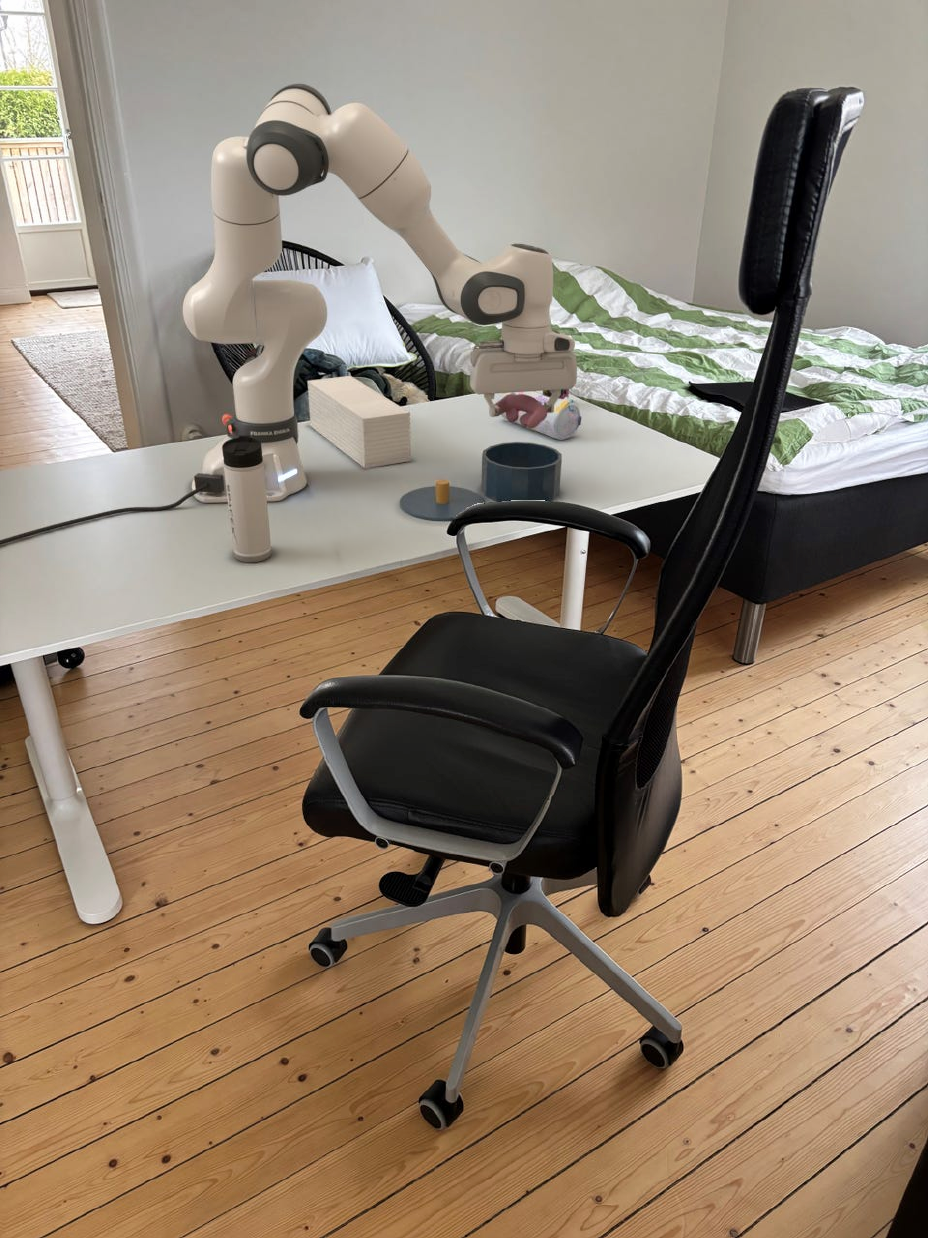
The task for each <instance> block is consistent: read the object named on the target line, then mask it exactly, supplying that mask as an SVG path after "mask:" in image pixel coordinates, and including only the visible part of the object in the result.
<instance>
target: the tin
mask: <svg viewBox="0 0 928 1238" xmlns="http://www.w3.org/2000/svg"><path fill="white" fill-rule="evenodd" d="M562 456H563V454H562V453H561V452H560V451H559V450H557V449H556V448H555V447H551V446H549V445H546V444H541V443H535V442H528V441H527V442H525V441H512V442H501V443H497V444H494V445H489V446H488V447H486V448H485V449H483V450H482V454H481V483H480V484H481V485H480V486H481V487H480V491H481V493H482V494H483V496H484V497H485V498H487V499H489V500H492V501H493V502H496V503H499V502H502V501H511V500H545V501H550V502H553V501H555V500H556V499H557V498H559V496H560V489H561V488H560V487H561V475H562V461H563V460H562V458H563V457H562Z"/></svg>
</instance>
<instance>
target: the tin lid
mask: <svg viewBox="0 0 928 1238" xmlns="http://www.w3.org/2000/svg"><path fill="white" fill-rule="evenodd" d="M483 502H485V503H486V501H485V499H484V497H483V496H482V495H480V494H479V493H477V492H475V491H473V490H471V489H467V488H464V487H459V486H452V485H451V486H450V480H448V479H445V478H440V479H437V480H435V485H434V486H433V485H432V486H425V487H420V488H416V489H413V490H410V491H408V492H406V493H404V494H403V495H402V496H401V498H400V500H399V507H400V509H401V510H402V511H403V512H404V513H406V514H407V515H409V516H411V517H414V518H417V519H421V520H426V521H432V522H433V521H434V522H454V521H455V520H454V518H455V517H456V515H458V514H459V513H460V512H462V511H463V510H465V509H466V508H467V507H470V506H472V505H474V504H477V503H483ZM453 520H454V521H453Z"/></svg>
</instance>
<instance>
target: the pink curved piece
mask: <svg viewBox="0 0 928 1238" xmlns="http://www.w3.org/2000/svg"><path fill="white" fill-rule="evenodd" d="M493 404H494V405H497V406H498V407H499V408H500V411H499V416H501V414H503V413H505V412H506V417H507V419H506V421H508V423H514V422H515V421H517V420H518V418H519V414H518V412H519V411H523V412H526V414H523V415H522V416H521V417H520V423H521V425H520V426H522V427H523V428H527V427H528V428H527V429H529V428H530V429H529V430H532V428H535V427H536V426H538V425H539V424H540V423H541V421H543V420H544V419H545V418H546V417H547V411H546V409H545V407H544V405H543V404H542V402H541V401H537V400H536V399H535V398H533V397H531V396H528V395H525V394H519V395H516V394H515V393H511V394H510V395H506V396H505V397H503V398H502V399H501V400H500V401H498V400H497V402H495V403H493Z"/></svg>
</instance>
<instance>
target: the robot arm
mask: <svg viewBox="0 0 928 1238" xmlns="http://www.w3.org/2000/svg"><path fill="white" fill-rule="evenodd" d="M210 166H211V168H210V196H211V197H210V198H211V206H212V208H211V209H212V216H213V225H214V226H213V227H214V246H215V247H214V256H213V260H212V262H211V265H210V267H209V268H208V271H207V272H206V273H205V274H204V276H203V277H202V278H200V280H198V282H196V283H194V284H193V285H192V286H191V287H190V288H189V289H188V291H187V292H186V293H185V296H184V298H183V303H182V317H183V321H184V323H185V326H186V328H187V329H188V331H189V332H190V333H191V335H192V336H193V337H194V338H195V339H197V340H198V341H200V342H201V341H202V342H206V343H212V344H220V345H242V344H243V345H247V344H248V345H249V344H259V345H262V346H263V350H262V352H261V353H260V354H259V355H258V356H257V357H256V358H254V359H252V360H250V361H248V362H245V364H242V366H240V367H239V368H238V369H237V370H236V371H235V372H234V375H233V377H232V391H233V400H234V401H233V402H234V411H235V414H234V415H233V416H232V415H231V414H230V413H225V414H223V416H222V417H221V418H222V419H221V420H222V424H223V425H224V426H225V430H226V436H225V437H224V438H223V439H221V441H219V442H218V443H216V445H215V446H214V447H212V448H211V449H210V450H208V451H207V452H206V453H205V455H204V457H203V461H202V464H201V465H202V466H201V473H200V472H198V473H196V474H195V475H194V476H193V480H192V482H191V491H190V492H188V493H187V494H185V495H184V496H182V497H181V498H180V499H178V500H177V501H176V502H173V503H170V504H167V505H161V506H132V507H131V506H130V507H123V508H117V509H112V510H107V511H103V512H98V513H95V514H91V515H87V516H82V517H77V518H74V519H71V520H67V521H63V522H59V523H55V524H51V525H48V526H44V527H40V528H36V529H33V530H30V531H26V532H22V533H19V534H16V535H12V536H9V537H5V538H2V539H0V546H1V545H4V544H8V543H11V542H14V541H18V540H21V539H24V538H27V537H31V536H34V535H38V534H41V533H42V534H43V533H45V532H48V531H52V530H56V529H59V528H63V527H67V526H71V525H75V524H79V523H83V522H89V521H91V520H95V519H99V518H103V517H108V516H113V515H118V514H123V513H129V512H130V513H131V512H161V511H167V510H170V509H174V508H176V507H178V506H180V505H181V504H183V503H185V502H186V500H189V498H191V497H194V498H195V499H196V500H197V501H199V502H201V503H205V504H211V503H212V504H214V503H217V504H219V503H228V498H227V489H226V481H225V472H224V460H223V459H224V458H223V451H222V445H223V444H224V443H225V442H226V441H228V440H230V439H233V438H239V436H240V435H250V438H255V439H257V440H259V441H260V442H261V447H262V457H263V465H264V475H265V486H266V497H267V502H280V501H282V500H284V499H286V498H287V497H289V496H290V495H292V494H296V493H297V492H299V491H301V490H303V489H304V488H305V487H306V486H307V484H308V480H307V477H306V474H305V471H304V469H303V465H302V461H301V456H300V452H299V446H298V443H299V424H298V418H297V414H296V412H295V410H294V409H295V407H294V377H295V371H296V366H297V364H298V361H299V359H300V357H301V356H302V354H303V353H304V351H305V350H306V349H307V347H308V346H309V345H310V344H311V343H312V342H313V341H314V340H316V339H317V338H318V337H319V336H320V335H321V334H322V333H323V331H324V329H325V326H326V324H327V321H328V307H327V302H326V300H325V297H324V296H323V293H322V292H321V291H320V289H319V288H318V287H317V286H316V285H314V284H313V283H307V282H303V281H297V280H292V279H272V280H271V279H268V280H267V279H266V280H263V279H262V280H253V279H254V278H255V277H257V276H259V275H260V274H262V273H264V272H265V271H268V270H269V269H271V268H272V267H273V266H274V265H275V263H277V262H278V260H279V258H280V256H281V254H282V250H283V239H282V238H283V236H282V223H281V222H282V221H281V208H280V207H281V206H280V196H281V197H284V196H285V197H287V196H291V195H294V194H297V193H300V192H301V191H303V190H305V189H307V188H308V187H311V186H314V185H317V184H319V183H322V182H324V181H325V180H326V179H327V176H328V174H332V175H335V176H336V177H338V179H340V180H341V181H342V182H343V183H344V184H345V185H346V186H347V188H348V189H349V190H350V191H351V192H352V193H353V195H354V196H355V197H356V198H357V200H358V201H359V202H360V204H362V205H363V207H364V208H366V210H367V211H369V213H371V215H373V216H374V217H375V218H376V219H377V220H378V221H379V222H380V223H382V225H384V226H385V227H387V228H388V229H389V230H391V231H392V232H394V233H396V234H397V235H399V236H400V237H401V238H402V239H403V240H404V241H405V242H406V243H407V245H408V246H409V247H410V249H411V250H412V251H413V252H414V254H415V255H416V256H417V257H418V259H419V260H420V261H421V262H422V264H423V265H424V267H426V269H427V270H428V272H429V273H430V274H431V277H432V279H433V282H434V284H435V288H436V289H435V290H436V292H437V295H438V298H439V300H440V302H441V303H442V305H443V306H444V307H445V308H446V309H447V310H448V311H450V312H451V313H453V314H455V315H459V316H460V317H462V318H463V319H466V320H467V321H469V322H470V323H472V324H475V325H478V326H489V325H496V324H500V323H501V340H491V341H485V340H483V341H479V342H478V343H477V344H476V345H474V346H473V347H472V348H471V350H470V364H471V368H470V375H469V387H470V389H471V390H472V392H474V393H475V394H476V395H483V398H484V400H485V401H486V404H487V405H488V406H489V407H488V414H489V416H490V417H491V418H495V417H500V415H499V411H500V408H499V407H498V406H497V405H494V404H495V403H494V402H493V400H494V399H495V394H501V393H511V392H528V391H536V392H543V391H544V390H550V392H551V393H552V395H551V397H550V398H549V400H548V402H544V407H545V409H546V411H547V413H553V412H554V404H555V403H556V401H557V400H558V398H559V397H560V395H561V389H569V390H572V389H573V388H574V387H575V386H576V384H577V381H578V360H577V356H576V354H575V352H573V351H574V349H575V348H576V342H575V341H576V340H574V339H573V338H572V337H571V336H569V335H567V334H566V333H563V332H561V331H557V330H556V329H552V328H551V327H552V326H551V325H552V321H551V315H550V310H551V305H552V301H553V296H554V295H553V293H554V265H553V260H552V259H553V258H552V255H551V254H549V252H548V251H546V250H545V249H543V248H541V247H538V246H534V245H531V244H530V245H529V244H525V243H512V244H510V245H509V246H508V247H507V248H506V249H505V250H504V251H502V253H500V254H499V255H497V256H496V257H493V258H492V259H490V260H488V261H485V262H483V263H482V262H480V261H479V260H477V259H476V258H474V257H472V256H469V255H467V254H465V253H463V252H461V250H459V249H458V247H457V246H456V245H455V244H454V242H453V241H452V240H451V238H450V237H449V236H448V234H447V233H446V232H445V230H444V229H443V227H441V225H440V224H439V223H438V221H437V220H436V218H435V217H434V215H433V212H432V210H431V205H430V202H431V198H432V185H431V183H430V181H429V179H428V177H427V175H426V173H425V171H424V170H423V168H422V166H421V164H420V163H419V161H418V159H417V158H416V157H415V155H414V154H413V153H412V152H411V150H410V149H409V148H408V146H407V145H406V144H405V143H404V142H403V140H402V139H401V138H400V136H399V135H398V134H397V133H396V132H395V131H394V130H393V129H392V128H391V127H390V126H389V125H388V124H387V123H386V121H384V120H383V119H382V118H381V117H380V116H379V115H378V114H376V112H374V111H373V110H372V109H371V108H370V107H368V106H367V105H366V104H364V103H361V102H351V103H347V104H344V105H342V106H340V107H339V108H337V109H336V110H335V111H333V112H332V109H331V108H330V105H329V103H328V101H327V100H326V98H325V96H323V94H322V93H321V92H320V91H318V89H316V88H314V87H313V86H311V85H308V84H305V83H292V84H288V85H286V86H283V87H282V88H280V89H279V90H277V91H276V92H275V94H274V95H272V97H271V98H270V99H269V101H268V103H267V104H266V105H265V107H264V108H263V109H262V111H261V112H260V114H259V116H258V118H257V121H256V123H255V125H254V127H253V130H252V131H251V133H250V135H249V136H240V135H239V136H238V135H237V136H232V137H228V138H225V139H223V140H222V141H220V142H219V143H218V144H216V146H215V148H214V150H213V152H212V156H211V165H210Z"/></svg>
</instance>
